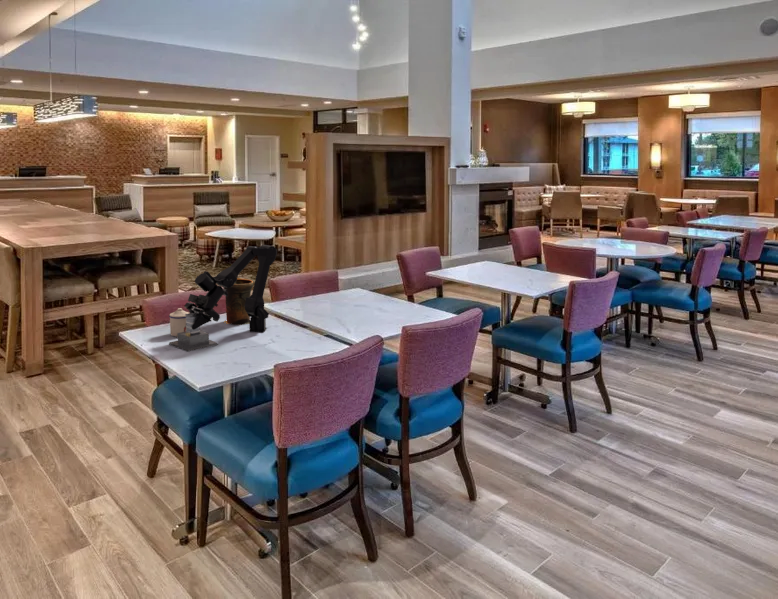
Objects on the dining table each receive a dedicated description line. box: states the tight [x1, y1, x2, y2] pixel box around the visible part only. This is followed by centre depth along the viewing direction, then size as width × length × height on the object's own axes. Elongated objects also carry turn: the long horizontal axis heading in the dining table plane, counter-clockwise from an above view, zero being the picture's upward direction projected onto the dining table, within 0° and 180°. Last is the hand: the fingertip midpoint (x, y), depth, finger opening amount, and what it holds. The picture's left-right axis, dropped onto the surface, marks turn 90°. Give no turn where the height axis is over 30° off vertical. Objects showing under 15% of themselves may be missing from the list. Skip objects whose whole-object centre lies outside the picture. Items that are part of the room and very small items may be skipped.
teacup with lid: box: [169, 307, 189, 338], centre depth 277 cm, size 12×9×12 cm
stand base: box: [168, 330, 219, 353], centre depth 261 cm, size 14×14×6 cm
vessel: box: [222, 278, 254, 326], centre depth 299 cm, size 14×14×20 cm
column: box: [186, 312, 201, 335], centre depth 260 cm, size 5×4×12 cm
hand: (189, 328), depth 259 cm, fingers closed on column, 4 cm apart
